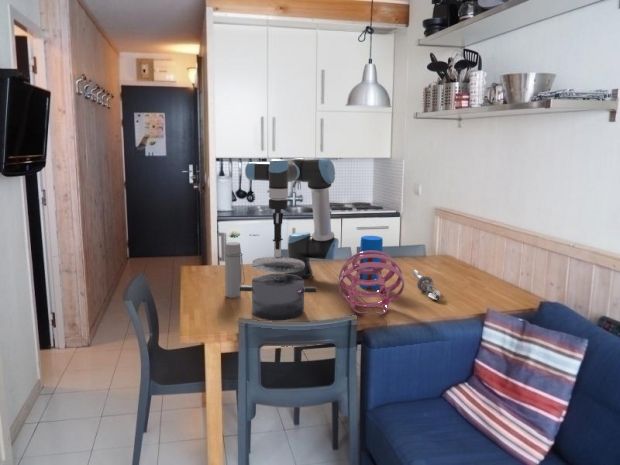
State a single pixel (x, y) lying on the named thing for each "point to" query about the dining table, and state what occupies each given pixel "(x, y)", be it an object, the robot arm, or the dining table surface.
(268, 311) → the pot
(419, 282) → the spaceship
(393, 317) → the dining table surface
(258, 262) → the lid
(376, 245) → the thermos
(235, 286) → the water bottle
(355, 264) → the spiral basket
